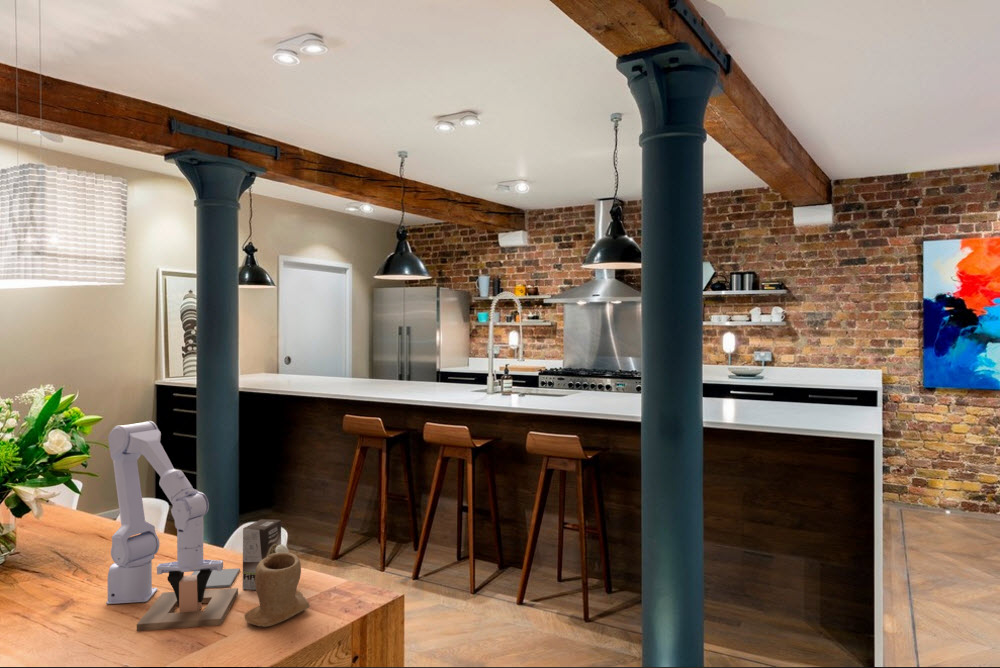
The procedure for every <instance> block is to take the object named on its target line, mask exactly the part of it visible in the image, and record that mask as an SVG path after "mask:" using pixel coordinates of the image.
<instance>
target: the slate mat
mask: <svg viewBox="0 0 1000 668" xmlns="http://www.w3.org/2000/svg"><path fill="white" fill-rule="evenodd" d="M240 571H241V568H239V567H238V568H223V569H222V570H221V571H217V570H212V573H211V575H210V577H209V579H208V582H207V585H206V588H205V589H223V588H231V586H232V584H233V583H234V581H235V579H236V578H237V576H238V574H239V573H240ZM199 572H200V571H192V573H191V575H198V573H199Z"/></svg>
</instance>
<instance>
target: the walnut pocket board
mask: <svg viewBox="0 0 1000 668" xmlns="http://www.w3.org/2000/svg"><path fill="white" fill-rule="evenodd" d="M238 594H239V588H237V587H234V588H233V587H229V588H213V589H205V592H204V597H203V600H202V603H208V604H206V606H205V608H204V610H199V611H194V612H179V611H178V612H174V611H175V610H176V609H177V607H179V604H178V603H177V598H176V595H175V592H174V591H167V592H166V591H165V592H162V593H161V594H160V595H159V596H158V598H157V599H156V600H155V601H154V603H153V604H152V605H151V606H150V607H149V608H148V610H147V611H146V612H145V613H144V615H143V616H142V617H141V618H140V620H139V621H138V622H137V623H136V631H137V632H138V631H141V632H142V631H155V630H168V629H171V630H172V629H182V628H185V629H186V628H196V627H197V628H198V626H200V627H211V626H222V624H223V622H224V620H225V618H226V617H227V615H228V613H229V611H230V609H231V607H232V606H233V604H234V602H235V600H236V598H237V596H238Z"/></svg>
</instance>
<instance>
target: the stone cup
mask: <svg viewBox="0 0 1000 668" xmlns="http://www.w3.org/2000/svg"><path fill="white" fill-rule="evenodd" d="M301 575H302V565H301V560H300V559H299V556H297V555H296V554H295V553H292V552H289V553H288V552H279V553H273V554H271V555H269V556H267V557H266V558H264V559H263V560H261V561H260V562H259V563H258V565H257V568H256V574H255V587H256V590H255V591H256V594H257V596H258V601H259V605H258V606H255V607H253V608H251V609H250V610H247V612H245V614H244V620H245V621H246V622H247V623H249V624H250V625H254V626H257V627H264V628H265V627H271V626H274V625H277V624H279V623H282V622H284V621H286V620H288V619H290V618H292V617H294V616H296V615H298V614H299V613H302V612H303V611H305V610H308V609H309V608H310V602H309V601H308V600H307V599H306V597H305V596H304V594H303V592H301V591H300V590H297V589H298V586H299V582H300V580H301Z"/></svg>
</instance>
